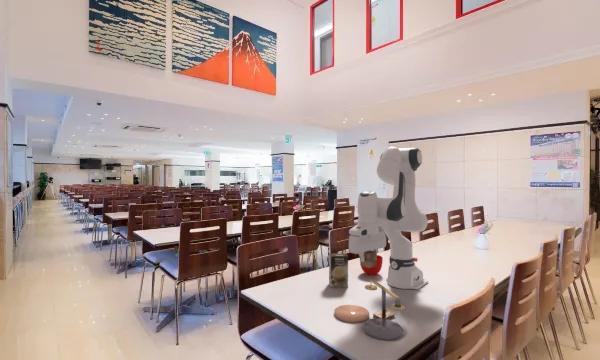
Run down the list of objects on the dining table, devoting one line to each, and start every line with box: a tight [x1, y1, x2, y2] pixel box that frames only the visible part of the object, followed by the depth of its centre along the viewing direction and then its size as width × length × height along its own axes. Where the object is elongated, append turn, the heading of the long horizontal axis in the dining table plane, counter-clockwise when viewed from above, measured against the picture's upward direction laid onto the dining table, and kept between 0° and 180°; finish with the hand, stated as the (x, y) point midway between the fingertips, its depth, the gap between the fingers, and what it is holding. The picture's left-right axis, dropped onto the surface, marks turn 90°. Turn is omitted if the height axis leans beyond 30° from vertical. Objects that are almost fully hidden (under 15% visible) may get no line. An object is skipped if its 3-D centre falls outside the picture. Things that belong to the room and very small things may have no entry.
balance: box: [364, 278, 406, 320], centre depth 122 cm, size 7×18×14 cm, turn 35°
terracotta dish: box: [333, 304, 370, 324], centre depth 124 cm, size 14×14×1 cm
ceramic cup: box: [360, 254, 384, 276], centre depth 180 cm, size 13×17×10 cm
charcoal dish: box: [362, 318, 404, 342], centre depth 111 cm, size 14×14×1 cm
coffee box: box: [328, 253, 349, 288], centre depth 159 cm, size 9×6×16 cm
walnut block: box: [359, 250, 378, 268], centre depth 133 cm, size 5×5×6 cm
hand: (368, 260), depth 133 cm, fingers closed on walnut block, 5 cm apart
